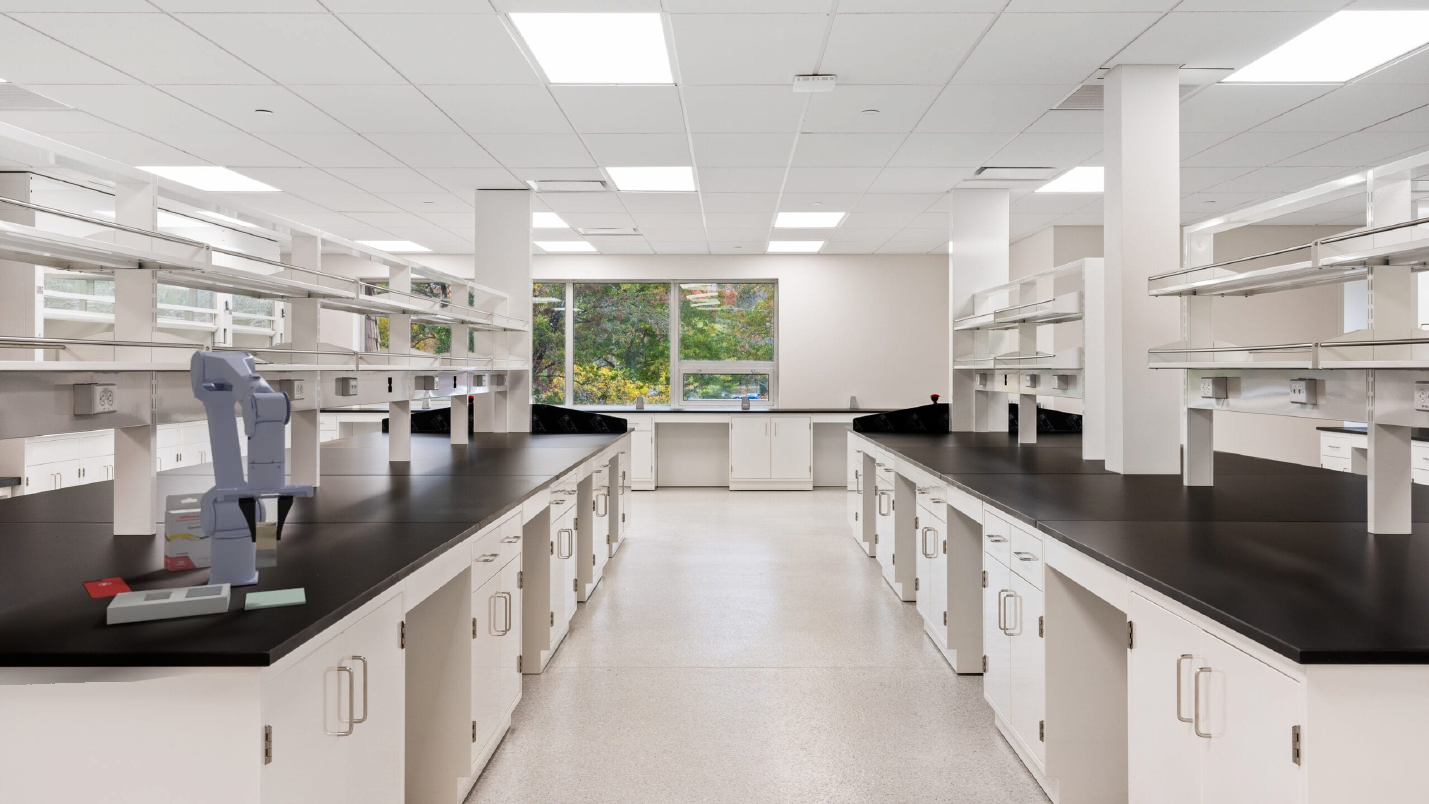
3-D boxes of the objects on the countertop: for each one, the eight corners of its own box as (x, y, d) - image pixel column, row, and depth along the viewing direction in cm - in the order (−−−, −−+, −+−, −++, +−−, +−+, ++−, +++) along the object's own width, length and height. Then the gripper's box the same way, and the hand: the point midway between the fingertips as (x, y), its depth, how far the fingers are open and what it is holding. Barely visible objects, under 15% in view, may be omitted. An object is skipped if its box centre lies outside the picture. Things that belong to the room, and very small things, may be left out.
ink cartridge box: (170, 572, 160) (170, 497, 160) (163, 568, 163) (163, 495, 163) (219, 565, 166) (219, 493, 166) (211, 561, 170) (211, 491, 169)
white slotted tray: (118, 608, 135) (118, 592, 135) (230, 597, 142) (230, 582, 142) (107, 624, 126) (107, 607, 126) (227, 611, 133) (227, 596, 133)
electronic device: (133, 595, 144) (120, 579, 155) (133, 592, 144) (120, 576, 155) (92, 601, 140) (82, 584, 151) (92, 597, 140) (82, 581, 151)
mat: (246, 595, 143) (246, 593, 143) (303, 590, 148) (303, 587, 148) (244, 609, 135) (244, 607, 135) (305, 603, 139) (305, 601, 139)
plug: (256, 562, 142) (256, 522, 142) (276, 560, 143) (276, 521, 143) (256, 567, 138) (256, 526, 138) (276, 566, 139) (276, 525, 139)
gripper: (215, 465, 133) (215, 548, 133) (314, 462, 140) (313, 541, 140) (218, 461, 139) (218, 540, 140) (312, 459, 146) (312, 534, 146)
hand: (266, 540), depth 140 cm, fingers closed on plug, 3 cm apart
